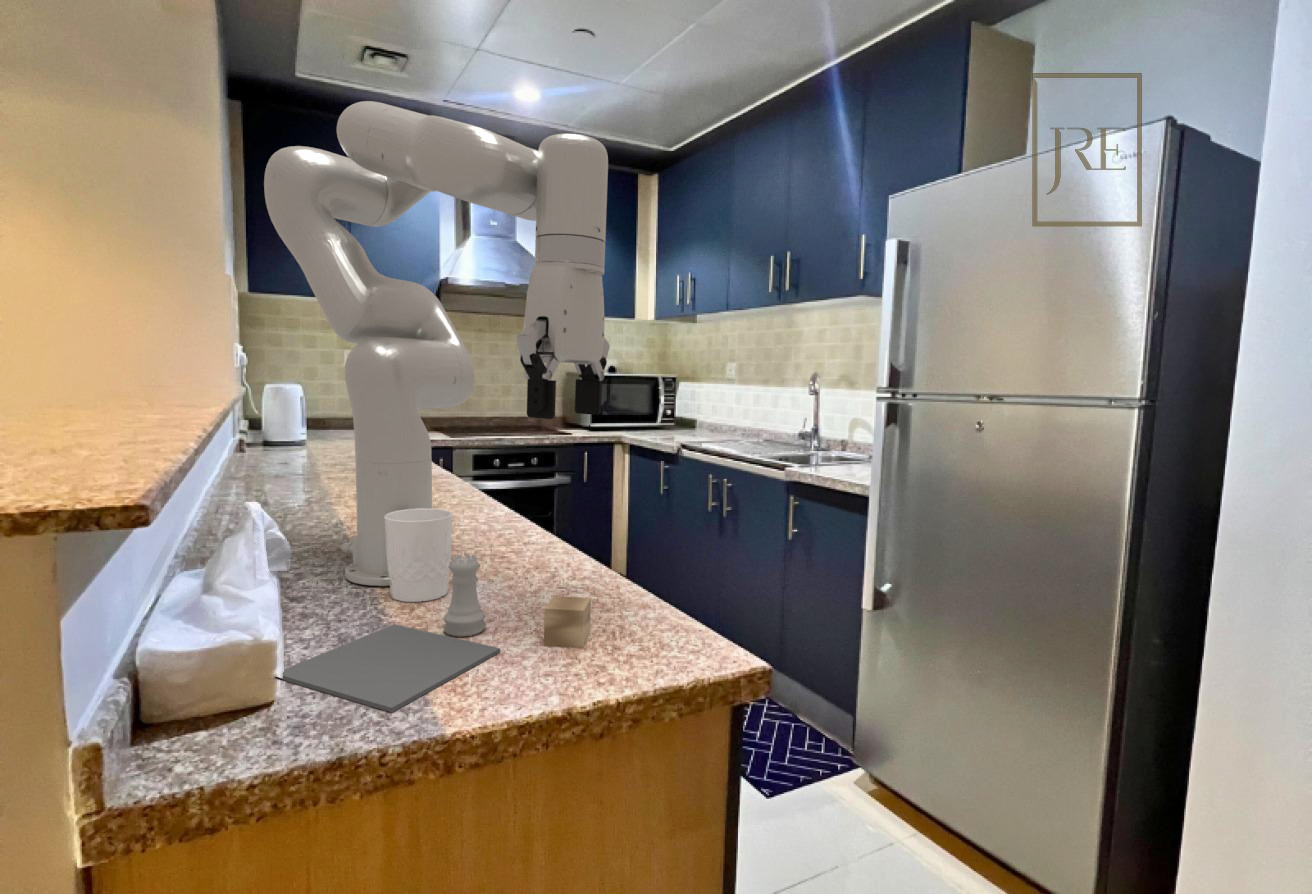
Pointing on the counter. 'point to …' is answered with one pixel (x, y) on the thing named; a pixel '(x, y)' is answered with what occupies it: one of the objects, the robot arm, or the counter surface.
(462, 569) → the rook chess piece
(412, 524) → the white cup
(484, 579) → the counter surface
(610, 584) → the counter surface
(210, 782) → the counter surface
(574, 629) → the oak block
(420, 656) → the mat
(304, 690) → the counter surface
